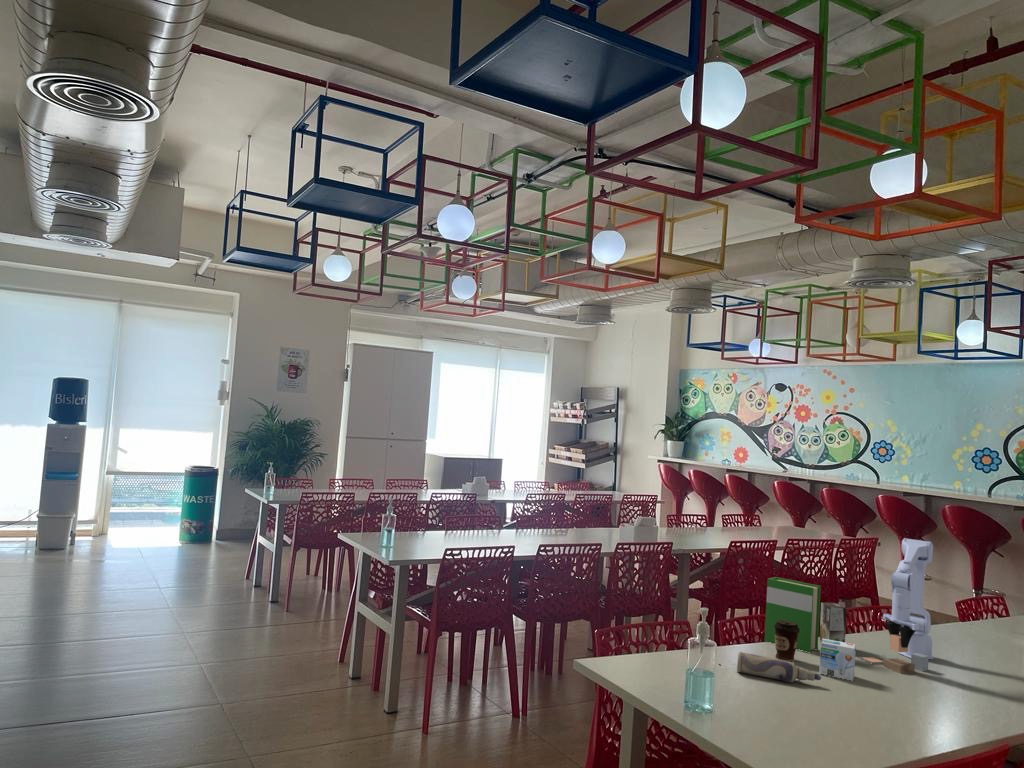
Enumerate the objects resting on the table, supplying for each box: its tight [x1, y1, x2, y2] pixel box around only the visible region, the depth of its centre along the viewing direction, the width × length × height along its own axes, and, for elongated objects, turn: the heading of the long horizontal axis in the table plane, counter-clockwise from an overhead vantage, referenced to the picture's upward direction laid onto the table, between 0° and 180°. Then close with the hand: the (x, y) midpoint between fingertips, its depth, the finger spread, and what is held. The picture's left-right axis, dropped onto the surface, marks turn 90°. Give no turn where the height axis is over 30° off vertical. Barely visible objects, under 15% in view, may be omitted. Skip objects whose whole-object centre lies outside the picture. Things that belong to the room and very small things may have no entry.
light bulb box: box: [818, 638, 856, 682], centre depth 246 cm, size 11×7×11 cm, turn 62°
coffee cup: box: [774, 620, 800, 662], centre depth 260 cm, size 9×8×13 cm
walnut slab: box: [882, 657, 916, 674], centre depth 258 cm, size 7×7×3 cm
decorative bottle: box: [736, 651, 822, 684], centre depth 237 cm, size 26×8×7 cm, turn 67°
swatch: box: [857, 656, 883, 665], centre depth 266 cm, size 7×7×1 cm
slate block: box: [910, 653, 929, 672], centre depth 260 cm, size 4×4×5 cm
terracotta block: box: [889, 633, 908, 653], centre depth 258 cm, size 4×4×5 cm
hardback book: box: [763, 576, 822, 653], centre depth 280 cm, size 18×7×24 cm, turn 45°
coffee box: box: [819, 601, 847, 644], centre depth 282 cm, size 9×6×16 cm
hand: (899, 645), depth 258 cm, fingers closed on terracotta block, 4 cm apart
